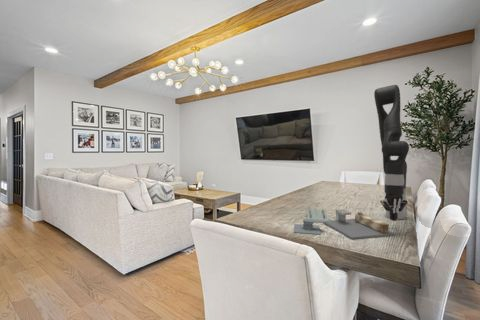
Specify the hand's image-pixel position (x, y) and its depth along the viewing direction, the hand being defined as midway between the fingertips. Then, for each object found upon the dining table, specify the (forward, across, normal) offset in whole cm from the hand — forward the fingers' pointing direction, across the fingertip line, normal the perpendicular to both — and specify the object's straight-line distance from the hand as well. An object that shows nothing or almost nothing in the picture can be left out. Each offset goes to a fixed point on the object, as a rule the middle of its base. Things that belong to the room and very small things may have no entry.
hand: (393, 220), depth 108 cm
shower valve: (+7, +36, -12) cm, 39 cm away
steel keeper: (+5, +15, -16) cm, 23 cm away
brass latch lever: (+5, +6, -7) cm, 11 cm away
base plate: (+6, +13, -9) cm, 17 cm away
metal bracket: (+7, +23, -29) cm, 38 cm away
